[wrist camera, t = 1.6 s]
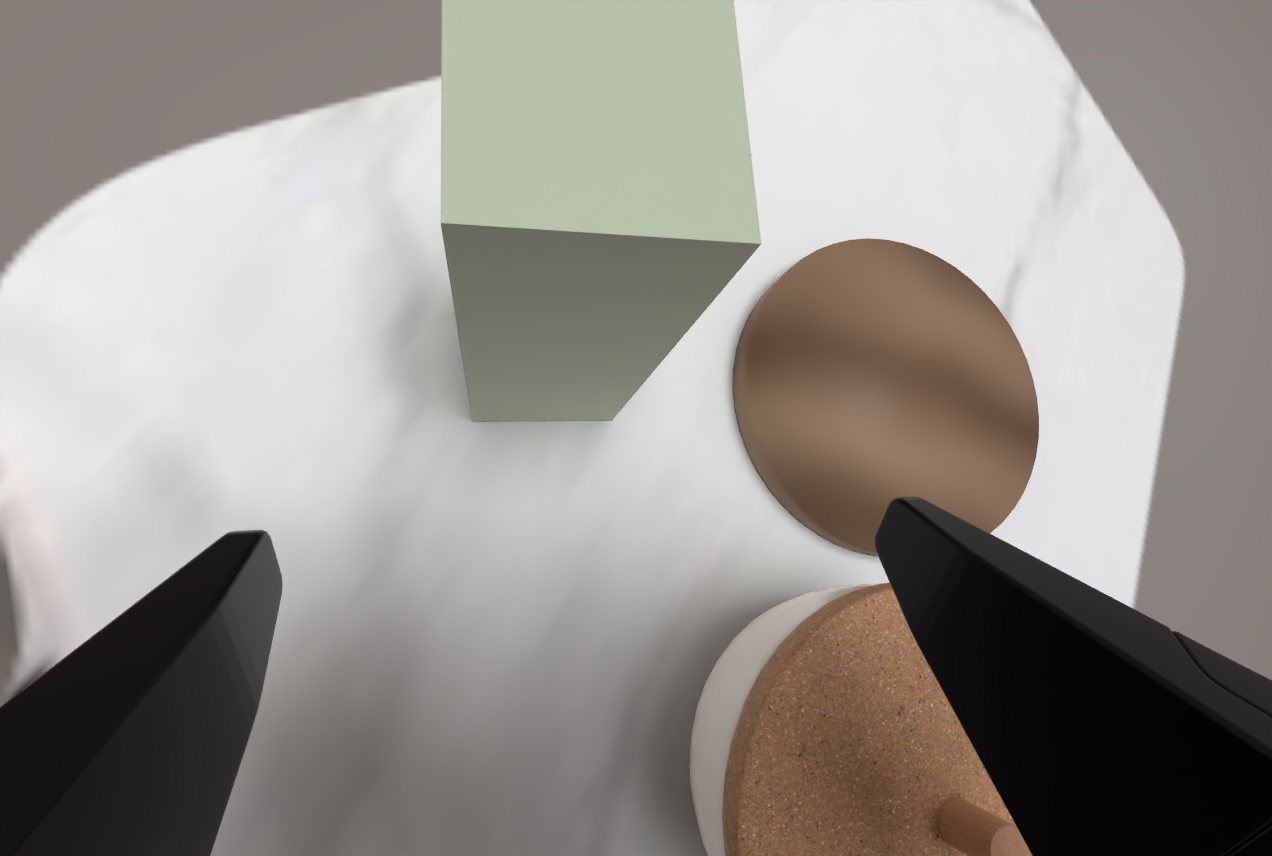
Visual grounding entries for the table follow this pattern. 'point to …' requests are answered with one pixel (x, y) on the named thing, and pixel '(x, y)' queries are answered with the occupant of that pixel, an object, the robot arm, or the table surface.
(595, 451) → the table surface
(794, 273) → the disc
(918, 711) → the lidded jar
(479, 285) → the post
